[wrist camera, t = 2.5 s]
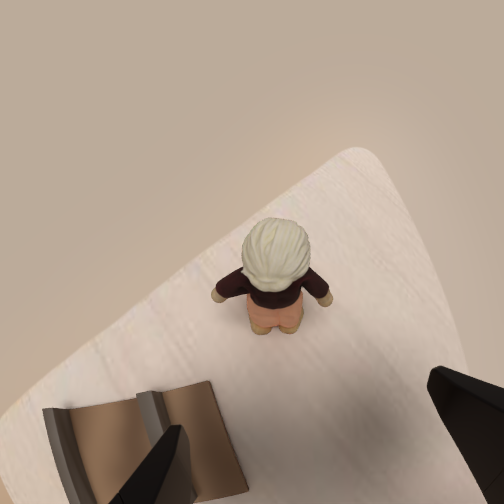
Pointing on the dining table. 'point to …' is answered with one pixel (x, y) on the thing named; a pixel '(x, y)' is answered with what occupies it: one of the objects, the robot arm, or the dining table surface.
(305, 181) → the dining table surface
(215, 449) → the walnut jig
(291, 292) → the grandmother figurine
